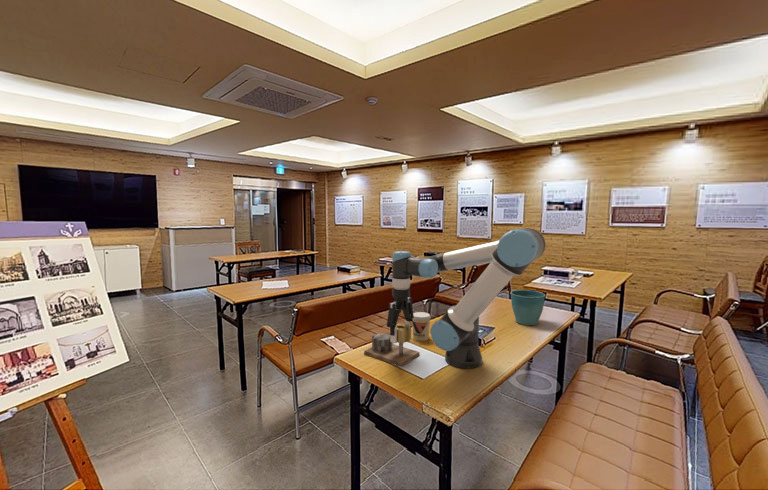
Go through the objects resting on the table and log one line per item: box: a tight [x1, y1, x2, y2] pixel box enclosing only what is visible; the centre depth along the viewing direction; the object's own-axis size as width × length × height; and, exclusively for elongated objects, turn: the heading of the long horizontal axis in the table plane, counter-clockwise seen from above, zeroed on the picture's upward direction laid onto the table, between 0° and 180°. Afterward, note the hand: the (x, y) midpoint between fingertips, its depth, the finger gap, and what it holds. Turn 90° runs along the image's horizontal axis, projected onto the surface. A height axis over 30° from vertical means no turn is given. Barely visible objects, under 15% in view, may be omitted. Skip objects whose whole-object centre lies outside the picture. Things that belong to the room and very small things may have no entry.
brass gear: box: [388, 322, 412, 345], centre depth 141 cm, size 9×9×6 cm
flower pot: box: [510, 289, 546, 326], centre depth 188 cm, size 18×18×17 cm
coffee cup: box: [411, 311, 431, 342], centre depth 165 cm, size 9×9×12 cm
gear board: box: [363, 332, 421, 367], centre depth 145 cm, size 20×14×8 cm
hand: (400, 338), depth 142 cm, fingers closed on brass gear, 9 cm apart
